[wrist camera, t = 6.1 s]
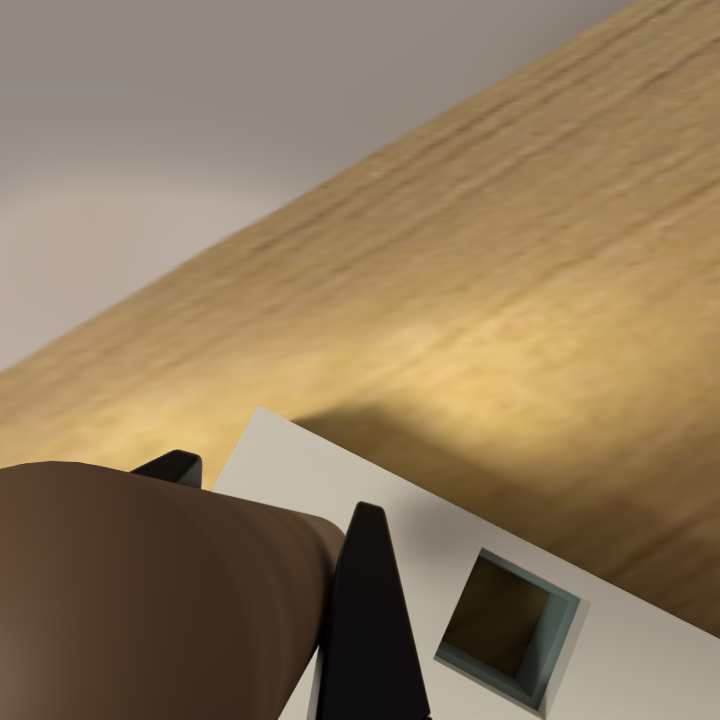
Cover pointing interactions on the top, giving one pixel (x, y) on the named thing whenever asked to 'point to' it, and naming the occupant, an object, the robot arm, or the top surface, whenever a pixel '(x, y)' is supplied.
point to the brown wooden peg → (153, 597)
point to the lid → (448, 578)
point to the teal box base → (540, 648)
